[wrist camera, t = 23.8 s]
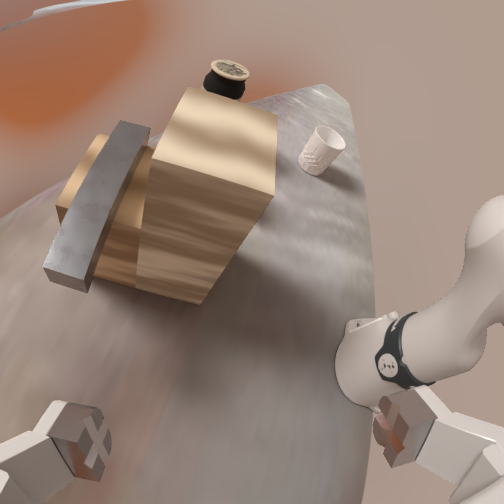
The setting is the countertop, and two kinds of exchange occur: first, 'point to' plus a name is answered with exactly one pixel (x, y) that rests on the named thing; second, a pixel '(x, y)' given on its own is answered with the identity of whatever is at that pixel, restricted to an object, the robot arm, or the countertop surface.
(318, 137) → the white cup
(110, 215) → the block
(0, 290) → the countertop surface
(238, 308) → the countertop surface
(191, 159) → the step stand
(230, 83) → the travel mug
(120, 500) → the countertop surface
